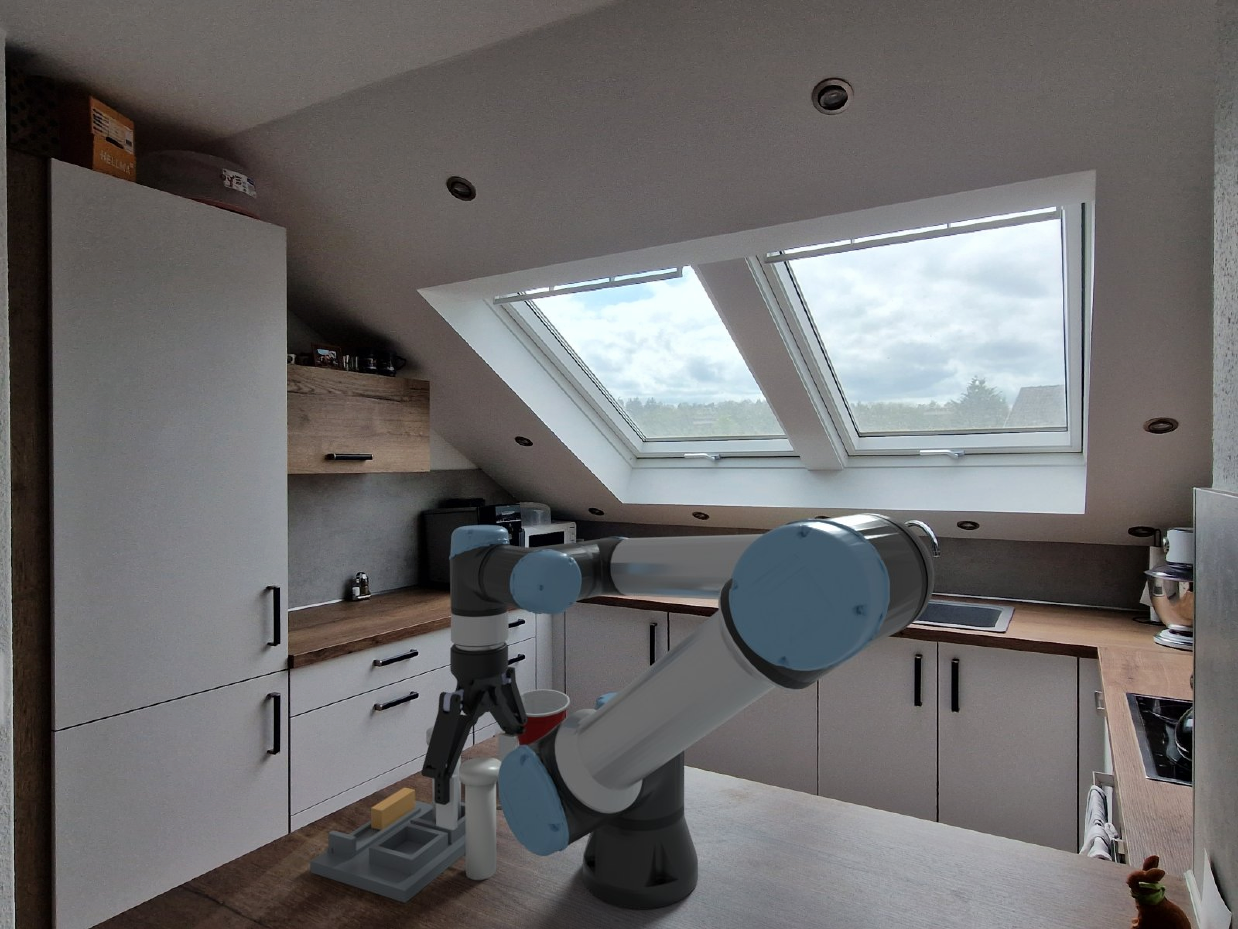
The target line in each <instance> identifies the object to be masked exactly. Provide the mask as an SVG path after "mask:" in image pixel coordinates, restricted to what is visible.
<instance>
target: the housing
mask: <svg viewBox="0 0 1238 929" xmlns="http://www.w3.org/2000/svg"><path fill="white" fill-rule="evenodd" d="M433 728H434V725H433V726H431V727H429V728H428V729H427V730H426V732H425V734H426V737H425V739H426V740H425V741H426V745H427V746H429V743H430V739H431V735H432V732H433ZM461 755H462V754H461ZM461 755H460V758H459V760H458V763H457V765H456V768H455V770H454V773H453V774H455V775H458V827H457V828H456V829H455V830H451V829H448V828H444V827H441V826H437V825H436V803H435V800H434V792H435V791H434V778H431V779H432V780H431V781H432V785H431V786H432V788H431V789H432V792H431V796H432V800H431V801H432V803H427V802H423V801H418V800H416V799H415V808H414V809H413V810H411V811H410V812H408V813H407V814H405V815H403V816H402V817H400V818H399V819H397V820H396V821H394V822H393V823H391V824H390V825H388V826H387V827H385V828H384V829H382V830H379V829H375V828H372V827H371V819H370V820H369V821H367V822H366V823H364V824H362V825H361V826H360V827H358V828H356V829H354V830H353V831H351V832H350V833H348V834H347V833H344V832H340V831H336V830H334V829H333V830H331V831H329V832H327V834H328V835H327V837H328V846H327V847H326V849H327V850H325V851H324V852H323V853H321V854H319V855H317V856H316V857H314V858H312V859H311V860H310V862H309V864H310V865H309V868H310V869H309V870H310V873H311V874H315V875H318V876H321V877H324V878H326V879H330V880H332V881H336V882H340V883H343V884H346V885H349V886H352V887H355V888H358V889H361V890H364V891H368V892H371V893H373V894H376V895H380V896H382V897H385V898H388V899H389V898H390V899H392V900H394V901H398V902H402V903H407V902H408V901H410V899H413V898H414V896H416V895H417V894H418V893H419V892H420V891H422V890H423V889H424V888H425V887H427V886H428V885H429V884H430V883H431V882H433V881H434V880H435V879H436V878H437V877H439V876H440V875H441V874H442V873H444V872H445V871H446V870H447V869H449V868H450V867H451V866H452V865H453V864H454V863H456V862H457V861H458V860H459V859H460V858H462V857H463V856H464V855H466V830H465V802H463V801H462V783H461V782H460V781H459V766H460V765H461V764H462V763H461V761H462V760H461V759H462V758H461V757H462V756H461ZM446 767H447V764H446Z"/></svg>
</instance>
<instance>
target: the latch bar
mask: <svg viewBox="0 0 1238 929" xmlns="http://www.w3.org/2000/svg"><path fill="white" fill-rule="evenodd" d="M415 800H416V790H415V789H412V788H408V787H403V788H401V789H400V790H397V791H396V792H395V793H392V794H391V795H390V796H388V797H386V798H385V799H383V800H382V801H379V803H377V804H375V805H374V806H372V807H370V820H371V827H372V828H375V829H379V830H382V829H384V828H385V827H387V826H388V825H390V824H391V823H393V822H394V821H396V820H397V819H399V818H400V817H402V816H403V815H405V814H407V813H408V812H410V811H411V810H413V809H414V808H415Z"/></svg>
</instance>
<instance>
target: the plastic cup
mask: <svg viewBox="0 0 1238 929" xmlns="http://www.w3.org/2000/svg"><path fill="white" fill-rule="evenodd" d="M519 693H520V692H519ZM520 696H521V699H522V702H523V706H524V709H525V712H526V715H527V719H528V720H527V723H526V725H522V726H525V733H524V734H523V735H520V734H518V746H520V745H527V744H530V743H532V742H534V741H536V740H538V739H540V738H542V737H543V736H545V735H546V734H547V733H548V732H550V731H551V730H552V729H553V728H554V727H556V726H557V725H558V724H559V723H560V722H562V721H563V720H564V719H565V718H566V713H567V709H568V707H569V706H570V704H571V701H570V700H571V699H570V697H569V696H568V695H567V694H566V693H564V692H561V691H558V690H556V689H555V690H554V689H545V688H544V689H543V688H542V689H531V690H528V691H523V692H521V693H520ZM515 714H516V715H518V714H517V713H515Z"/></svg>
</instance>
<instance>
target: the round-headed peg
mask: <svg viewBox="0 0 1238 929" xmlns="http://www.w3.org/2000/svg"><path fill="white" fill-rule="evenodd" d="M500 765H501V761H499V760H498V758H494V757H490V756H481V757H480V756H479V757H474V758H470V759H467V760H465V761H463V762H462V763H461V765H460V766H459V781H460V782H461V784H463V785H465V786H464V788H465V790H464V791H465V792H464V793H465V794H464V795H465V796H464V800H465V801H464V803H465V830H466V853H465V876H466V877H467V878H469V879H471V880H474V881H482V880H486V879H489V878H491V877H492V876H494V875H495V874H496V873H497V809H496V806H497V783H498V774H499V768H500Z"/></svg>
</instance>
